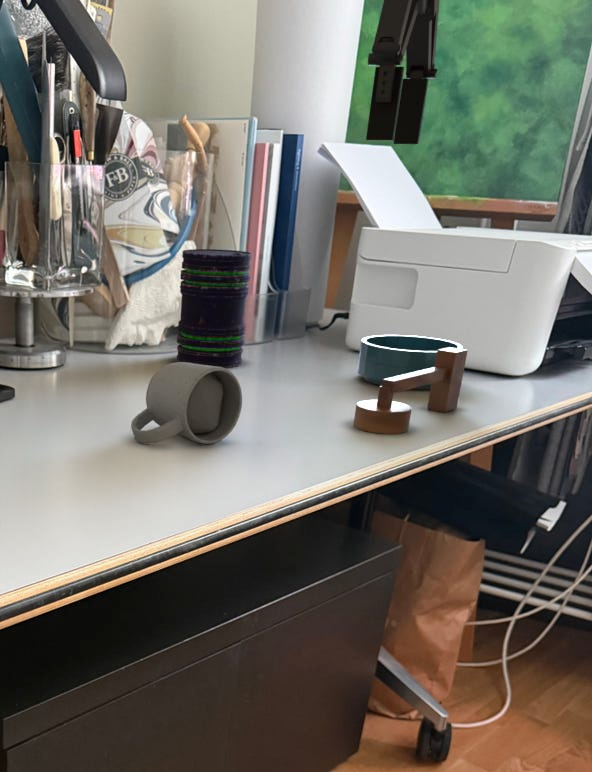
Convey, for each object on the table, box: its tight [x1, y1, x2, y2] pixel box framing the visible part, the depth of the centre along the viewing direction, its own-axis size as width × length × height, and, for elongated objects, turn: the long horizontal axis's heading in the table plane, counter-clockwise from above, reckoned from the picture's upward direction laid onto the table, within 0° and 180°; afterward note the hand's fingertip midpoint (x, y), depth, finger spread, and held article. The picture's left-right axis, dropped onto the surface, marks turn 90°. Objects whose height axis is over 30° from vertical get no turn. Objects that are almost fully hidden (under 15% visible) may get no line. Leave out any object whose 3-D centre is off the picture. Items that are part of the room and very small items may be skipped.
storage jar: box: [176, 248, 252, 369], centre depth 134 cm, size 10×10×15 cm
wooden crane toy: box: [353, 347, 469, 435], centre depth 107 cm, size 18×6×7 cm, turn 134°
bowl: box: [356, 334, 464, 390], centre depth 128 cm, size 13×13×5 cm
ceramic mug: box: [130, 361, 243, 445], centre depth 97 cm, size 11×8×8 cm
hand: (393, 142), depth 102 cm, fingers open, 13 cm apart
